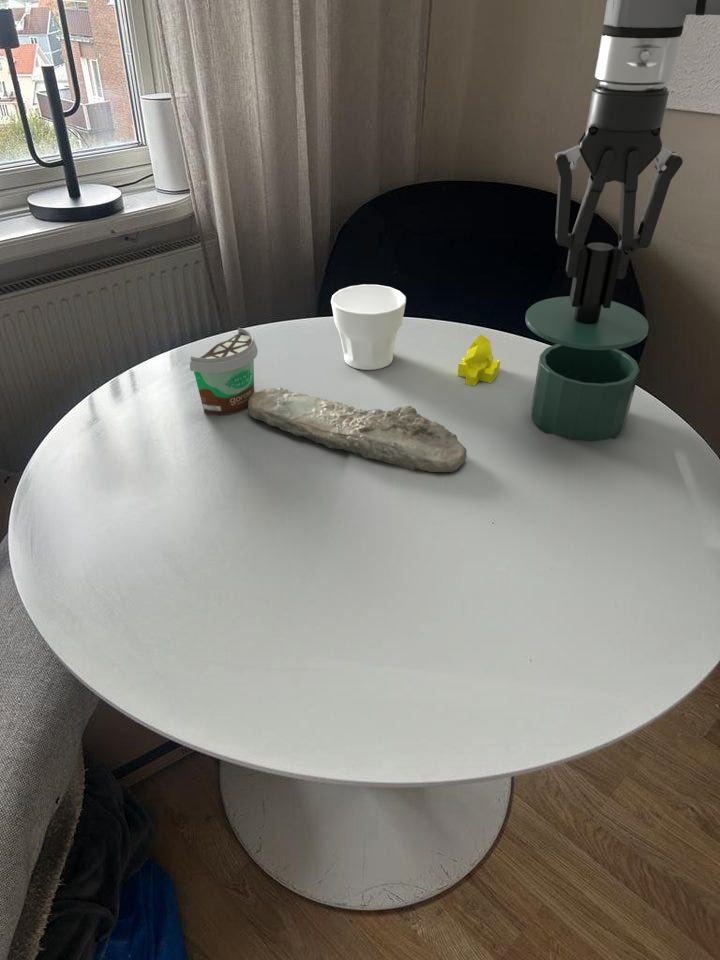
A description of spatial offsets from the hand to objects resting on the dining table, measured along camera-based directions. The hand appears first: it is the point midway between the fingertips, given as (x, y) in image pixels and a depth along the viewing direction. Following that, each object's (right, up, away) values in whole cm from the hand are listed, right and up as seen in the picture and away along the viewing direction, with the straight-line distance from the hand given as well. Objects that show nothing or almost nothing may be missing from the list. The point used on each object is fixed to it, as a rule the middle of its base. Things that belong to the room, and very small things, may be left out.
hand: (589, 302), depth 86 cm
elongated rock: (-29, -16, +17) cm, 37 cm away
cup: (-26, -1, +37) cm, 45 cm away
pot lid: (0, -2, +2) cm, 3 cm away
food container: (-47, -10, +25) cm, 54 cm away
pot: (+5, -12, +21) cm, 25 cm away
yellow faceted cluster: (-8, -4, +32) cm, 33 cm away
